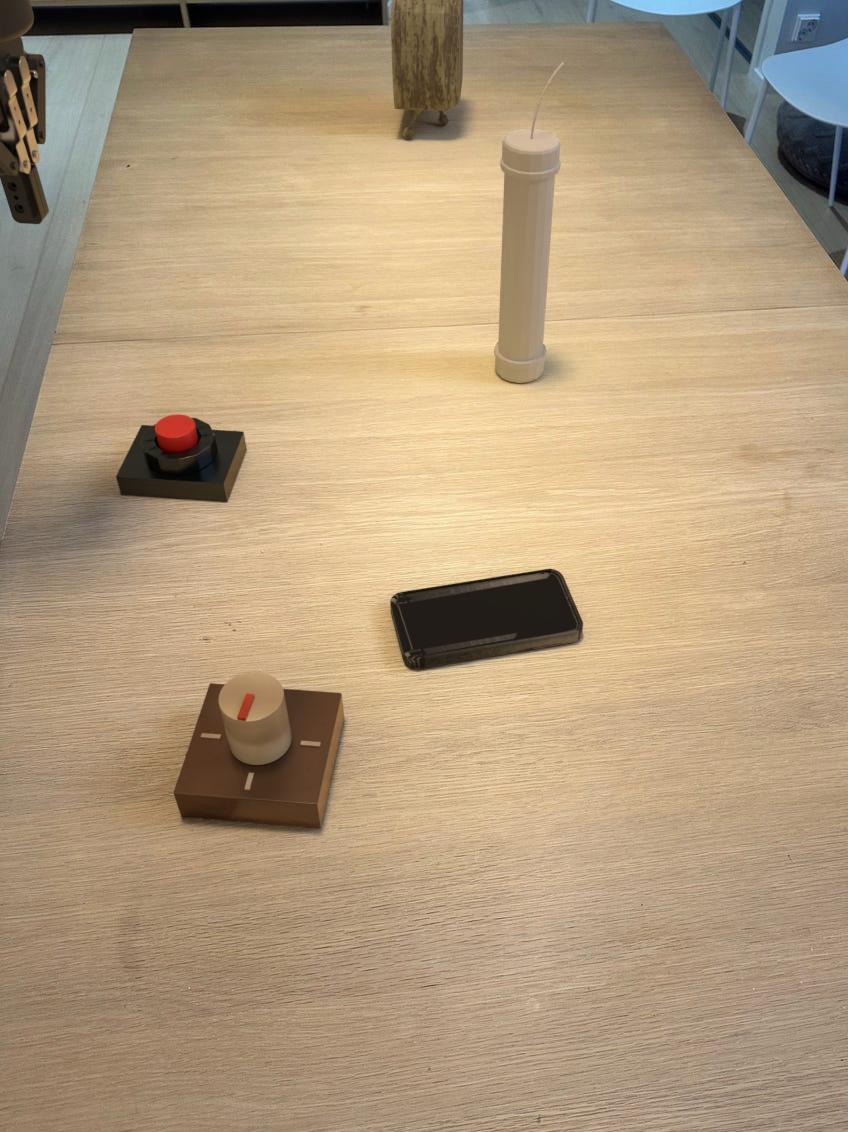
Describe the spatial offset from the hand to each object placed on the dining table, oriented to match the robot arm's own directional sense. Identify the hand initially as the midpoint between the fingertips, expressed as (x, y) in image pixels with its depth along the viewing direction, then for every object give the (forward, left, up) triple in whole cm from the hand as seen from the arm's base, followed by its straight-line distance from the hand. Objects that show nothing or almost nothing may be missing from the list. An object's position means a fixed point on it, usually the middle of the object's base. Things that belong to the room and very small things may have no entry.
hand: (32, 218), depth 78 cm
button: (+5, +5, -23) cm, 24 cm away
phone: (+35, -12, -27) cm, 46 cm away
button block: (+5, +5, -27) cm, 28 cm away
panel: (+20, -28, -27) cm, 44 cm away
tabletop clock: (+19, +89, -27) cm, 95 cm away
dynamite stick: (+36, +26, -27) cm, 52 cm away
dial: (+20, -28, -24) cm, 42 cm away
